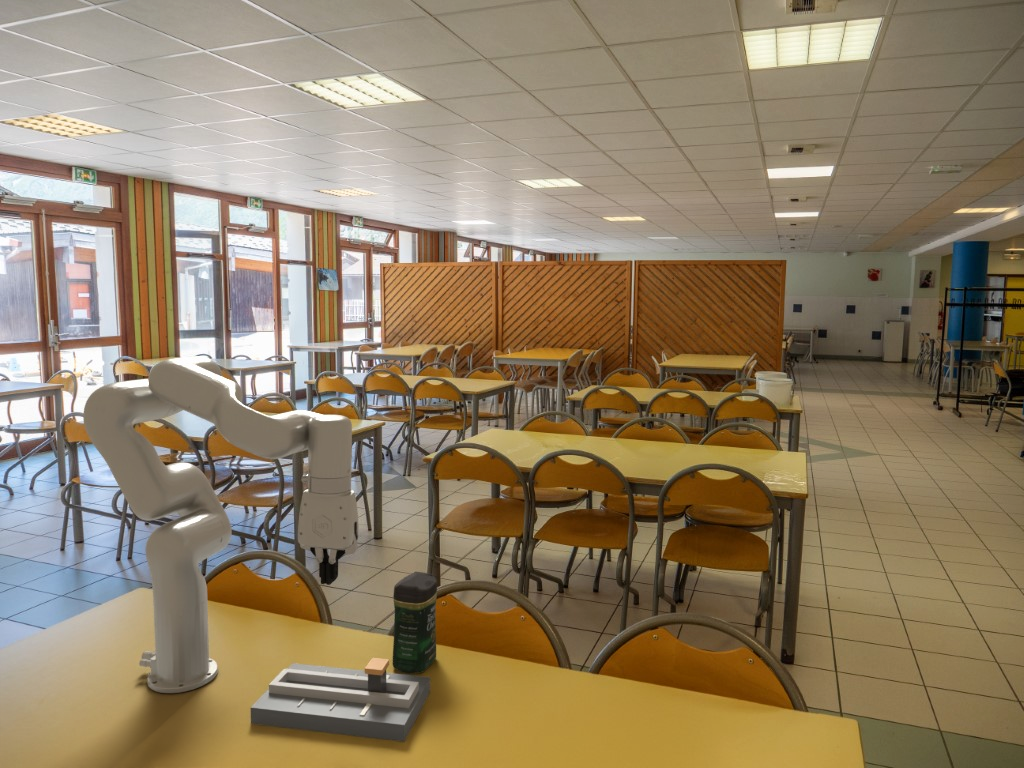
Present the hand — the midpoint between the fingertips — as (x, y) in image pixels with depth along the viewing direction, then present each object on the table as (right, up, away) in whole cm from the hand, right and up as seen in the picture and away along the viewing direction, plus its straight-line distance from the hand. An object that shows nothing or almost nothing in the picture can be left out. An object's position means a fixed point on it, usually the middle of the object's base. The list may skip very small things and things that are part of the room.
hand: (328, 581), depth 130 cm
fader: (+9, -20, -1) cm, 22 cm away
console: (+3, -23, 0) cm, 23 cm away
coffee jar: (+14, -22, +17) cm, 31 cm away
